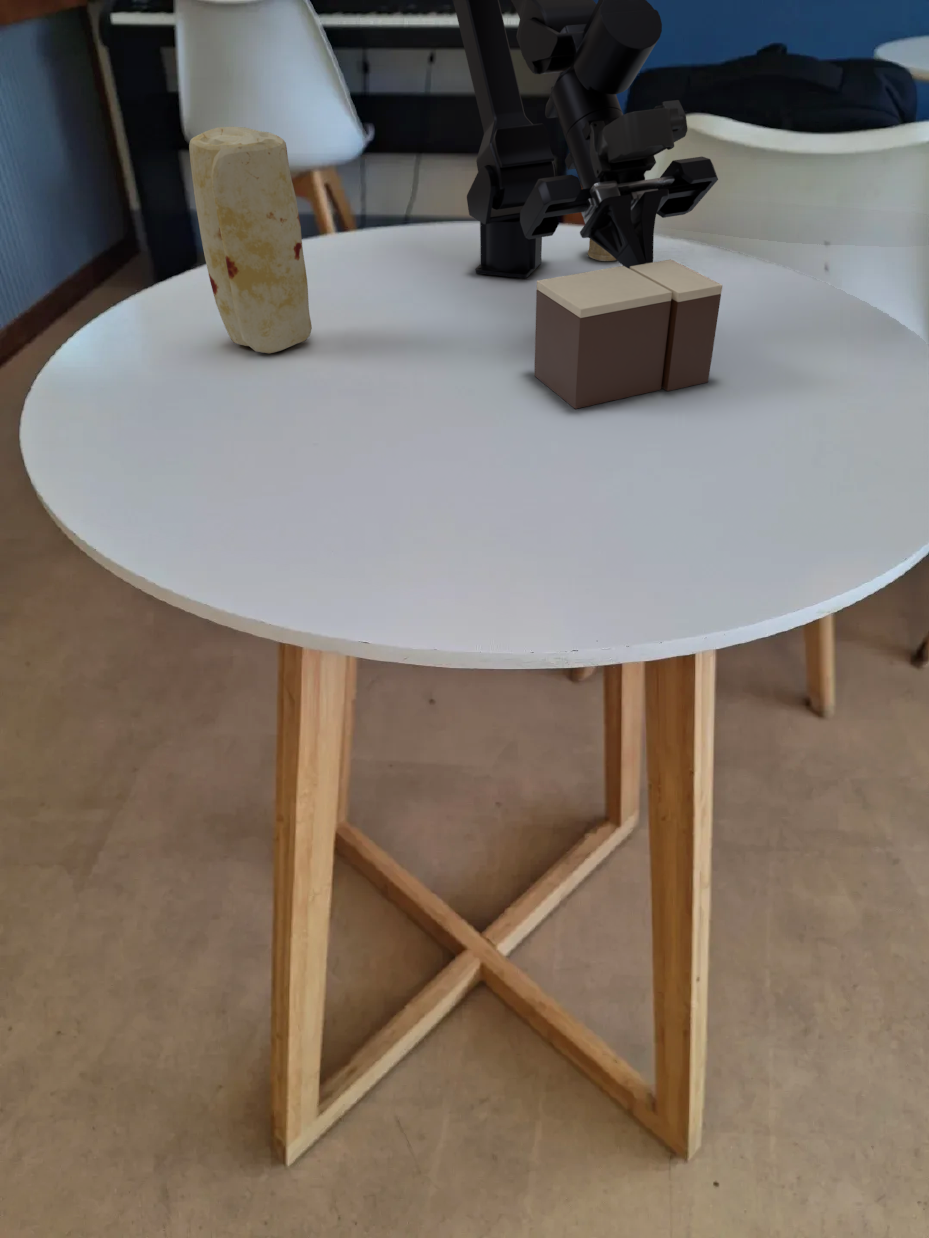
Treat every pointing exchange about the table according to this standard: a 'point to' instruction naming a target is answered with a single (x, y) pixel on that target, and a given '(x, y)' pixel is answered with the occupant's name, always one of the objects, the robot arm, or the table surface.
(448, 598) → the table surface
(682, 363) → the cake slice
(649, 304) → the box
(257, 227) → the food model
